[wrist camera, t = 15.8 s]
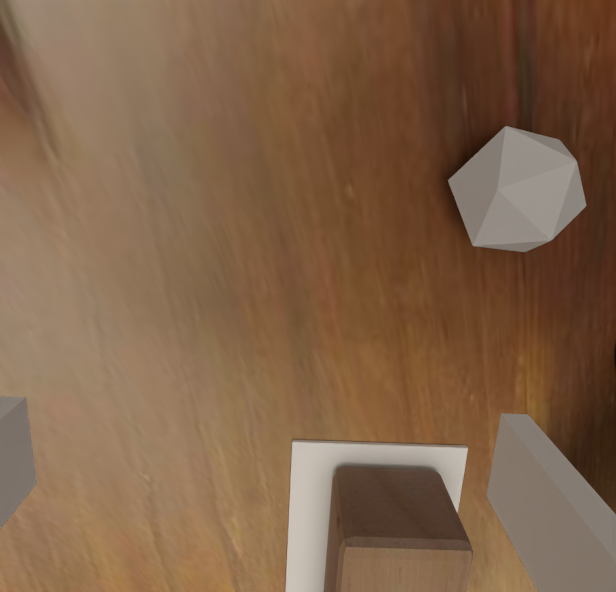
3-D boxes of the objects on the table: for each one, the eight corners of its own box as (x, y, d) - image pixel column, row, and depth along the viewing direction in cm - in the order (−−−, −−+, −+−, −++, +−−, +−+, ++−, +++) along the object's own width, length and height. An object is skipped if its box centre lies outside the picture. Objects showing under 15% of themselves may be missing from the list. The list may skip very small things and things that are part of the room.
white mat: (466, 445, 44) (468, 448, 44) (437, 629, 51) (438, 632, 50) (292, 439, 44) (292, 442, 44) (283, 625, 50) (283, 629, 50)
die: (522, 254, 40) (640, 210, 32) (447, 278, 36) (558, 235, 28) (487, 163, 41) (592, 96, 32) (409, 178, 37) (506, 106, 28)
